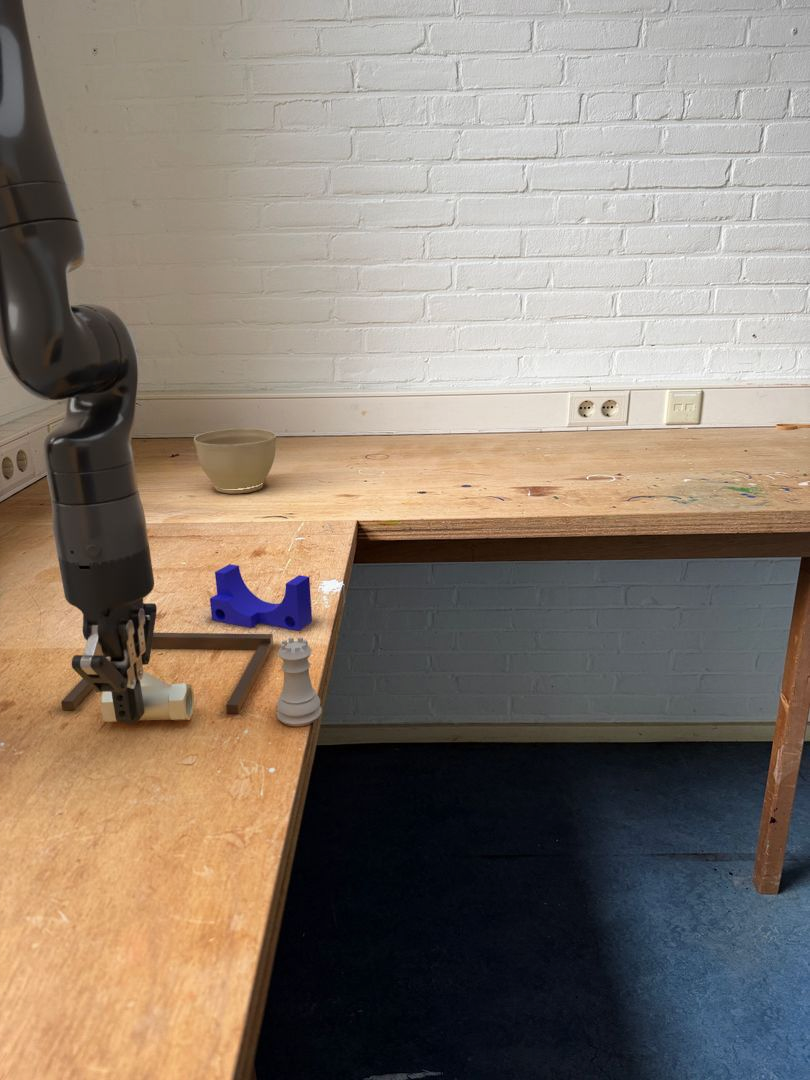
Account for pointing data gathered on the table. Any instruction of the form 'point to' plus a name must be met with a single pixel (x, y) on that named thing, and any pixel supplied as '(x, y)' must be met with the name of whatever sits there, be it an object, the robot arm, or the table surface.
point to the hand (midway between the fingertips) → (130, 719)
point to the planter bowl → (236, 457)
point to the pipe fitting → (157, 701)
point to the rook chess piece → (297, 685)
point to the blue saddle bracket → (259, 602)
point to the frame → (202, 641)
